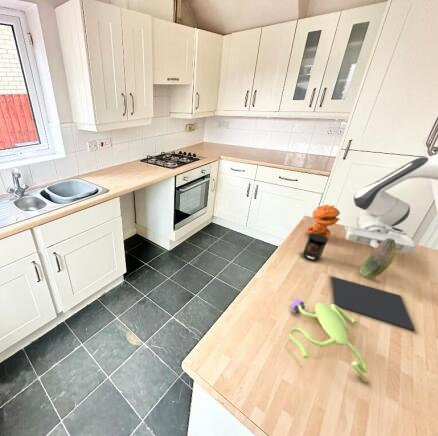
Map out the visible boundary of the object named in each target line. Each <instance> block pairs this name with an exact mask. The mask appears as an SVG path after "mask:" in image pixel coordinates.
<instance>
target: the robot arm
mask: <svg viewBox="0 0 438 436" xmlns="http://www.w3.org/2000/svg"><path fill="white" fill-rule="evenodd" d="M415 178H421V179H422V178H423V179H431V180H436V181H438V153H436V154H433V155H430V156H425V157H423V156H422V157H421V156H420V157H418V158H415V159H413V160H411V161H409V162H407V163H405V164H403V165H402V166H400V167H398V168H397V169H395V170H393V171H392V172H390V173H388V174H386V175H384V176H383V177H381V178H379V179H378V180H376V181H374V182H373V183H371V184H368V185H366V186H363V187H362V188H361V189H359V190H357V192H356V193H354V195H353V202H354V205H355V207H357V208H360V209H361V211H360V212H359V213H358V214H357V217H356V225H357V226H354V225H350V226H344V227H343V230H344V232H345V233H344V239H345V240H347V241H349V242H354V243H359V244H363V245H366V246H367V245H368V246H371V247H372V248H374V250H375V249H376V247H377V246H378V245H379V244H380V243H382V242H383V241H385V240H386V239H388V238H392V239H394V241H395V244H396V248H397V251H396V252H401V253H405V254H409V255H410V254H412V253H413V252H414V251H415V249H416V248H417V245H416V242H415V241H414V240H413V239H412V237H410V236H409V235H408V234H407V231H406V230H404V229H401V228H398V227H396V226H398V225H400V224H401V223H403V222H404V221H406V220H407V218H408V217H409V215H410V212H411V205H410V204H409V203H407V202H405V201H404V200H402V199H400V198H398V197H396V196H394V195H392V194H390V193H388V192H387V191H388V190H389V189H391V188H393V187H395V186H397V185H399V184H401V183H403V182H405V181H406V180H409V179H415Z"/></svg>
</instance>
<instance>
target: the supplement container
mask: <svg viewBox="0 0 438 436" xmlns="http://www.w3.org/2000/svg"><path fill="white" fill-rule="evenodd" d="M328 241H329V239H327V237H325V236H323V235H321V234H317V233H309V235H308V237H307V241H306V243H305V246H304V249H303V252H302V256H303V258H304V259H306V260H307V261H310V262H318V261H320V260H321V258H322V256H323V254H324V250H325V248H326V246H327V244H328Z"/></svg>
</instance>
